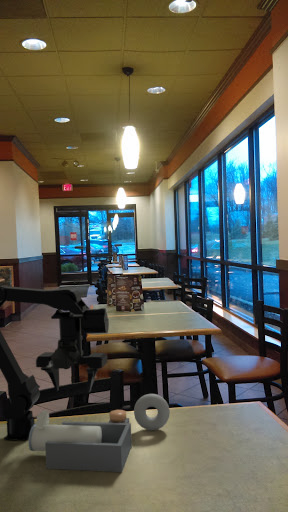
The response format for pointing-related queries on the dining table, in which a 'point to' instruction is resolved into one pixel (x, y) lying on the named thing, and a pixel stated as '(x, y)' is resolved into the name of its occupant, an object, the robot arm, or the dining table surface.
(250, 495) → the dining table surface
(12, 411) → the robot arm
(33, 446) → the cartridge
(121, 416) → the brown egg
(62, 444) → the housing
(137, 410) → the donut
